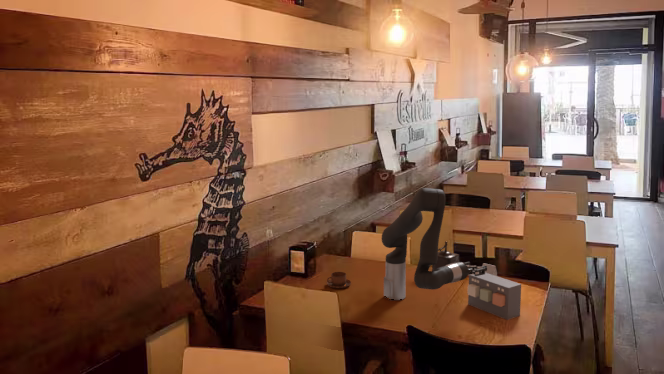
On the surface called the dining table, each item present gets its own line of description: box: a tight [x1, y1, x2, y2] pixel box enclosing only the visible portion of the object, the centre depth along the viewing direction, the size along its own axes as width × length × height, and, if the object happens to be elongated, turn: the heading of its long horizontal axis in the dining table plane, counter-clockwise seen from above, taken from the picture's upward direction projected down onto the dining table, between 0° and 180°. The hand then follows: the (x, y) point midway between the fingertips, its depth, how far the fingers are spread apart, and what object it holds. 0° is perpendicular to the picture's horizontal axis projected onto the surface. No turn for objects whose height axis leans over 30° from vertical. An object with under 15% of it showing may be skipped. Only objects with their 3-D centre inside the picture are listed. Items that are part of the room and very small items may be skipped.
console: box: [467, 273, 522, 321], centre depth 260 cm, size 22×8×14 cm, turn 35°
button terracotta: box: [492, 292, 506, 307], centre depth 252 cm, size 4×4×4 cm
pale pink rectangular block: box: [482, 262, 498, 276], centre depth 294 cm, size 4×7×10 cm, turn 46°
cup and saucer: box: [326, 271, 352, 289], centre depth 295 cm, size 12×12×6 cm
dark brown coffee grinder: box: [431, 240, 460, 271], centre depth 311 cm, size 16×11×18 cm
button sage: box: [480, 288, 492, 302], centre depth 258 cm, size 4×4×4 cm
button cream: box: [467, 283, 480, 297], centre depth 263 cm, size 4×4×4 cm
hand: (477, 266), depth 254 cm, fingers open, 8 cm apart
